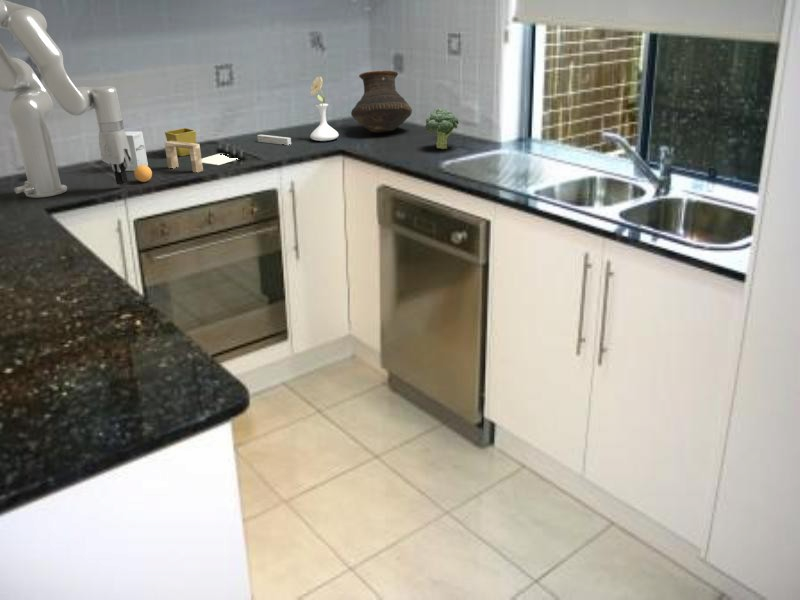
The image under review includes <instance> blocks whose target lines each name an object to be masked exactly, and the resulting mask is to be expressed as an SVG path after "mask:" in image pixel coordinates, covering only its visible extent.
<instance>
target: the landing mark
mask: <svg viewBox="0 0 800 600" xmlns="http://www.w3.org/2000/svg"><path fill="white" fill-rule="evenodd" d="M220 154H222V155H220ZM223 154H224V153H216V154H213V155H209V156H206V157H203V158H202V157H201V159H202V164H208V165H215V166H220V165H223V164H226V163H230V162H234V161H237V160H239V159H238V158H229V157H227V156H225V155H223ZM236 159H237V160H236Z"/></svg>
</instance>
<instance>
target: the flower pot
mask: <svg viewBox="0 0 800 600" xmlns="http://www.w3.org/2000/svg"><path fill="white" fill-rule="evenodd" d="M196 132H197V130H195V129H191V128H188V127H183V128H178V129H171V130H167V131H164V135H165V138H166V142H167V141H179V142H187V143H195V144H197V133H196ZM176 153H177V157H185V156H188V155H189V156H190V150H189V149H187V148H179V147H176Z"/></svg>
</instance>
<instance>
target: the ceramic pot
mask: <svg viewBox="0 0 800 600" xmlns="http://www.w3.org/2000/svg"><path fill="white" fill-rule="evenodd" d="M398 75H399V73H398V72H397V71H394V70H374V71H373V70H372V71H366V72H362V73H360V74H359V76H358V78H360V79H361V80H362V83H363V92H364V93H363V95H362V96H361V98H360V100H358V101H357V103H356V104H355V106H354V107H352V109H351V112H350V114H351V116H352V118H353V119H355V121H356V122H357V123H359V125H362V126H363V127H364V128H366V130H368V131H370V132H371V133H374V134H382V133H388V132H390V133H391V132H393V131H394V130H396V129H397V128H398V127H400V126H402V125H403V123H404V122H405V121H406V120H407V119H409V117H410V116H411V115H412V111H413V109H412V107H411V106H410V105H409V103H408V102H407V101H406V100H405V98H404V97H403V96H401V94H400V93H398V91H397V90H396V78H397V77H398Z"/></svg>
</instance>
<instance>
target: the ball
mask: <svg viewBox="0 0 800 600" xmlns="http://www.w3.org/2000/svg"><path fill="white" fill-rule="evenodd" d="M133 172H134V173H133V174H134V177H135V179H136V180H137V181H139V182H141V183H146V182H148V181H149V180H151V178H152V176H153V171H152V169H151V168H150V167H149V165H148V166H146V165H140V166H138V167H137V168H136V169H135V171H133Z"/></svg>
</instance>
